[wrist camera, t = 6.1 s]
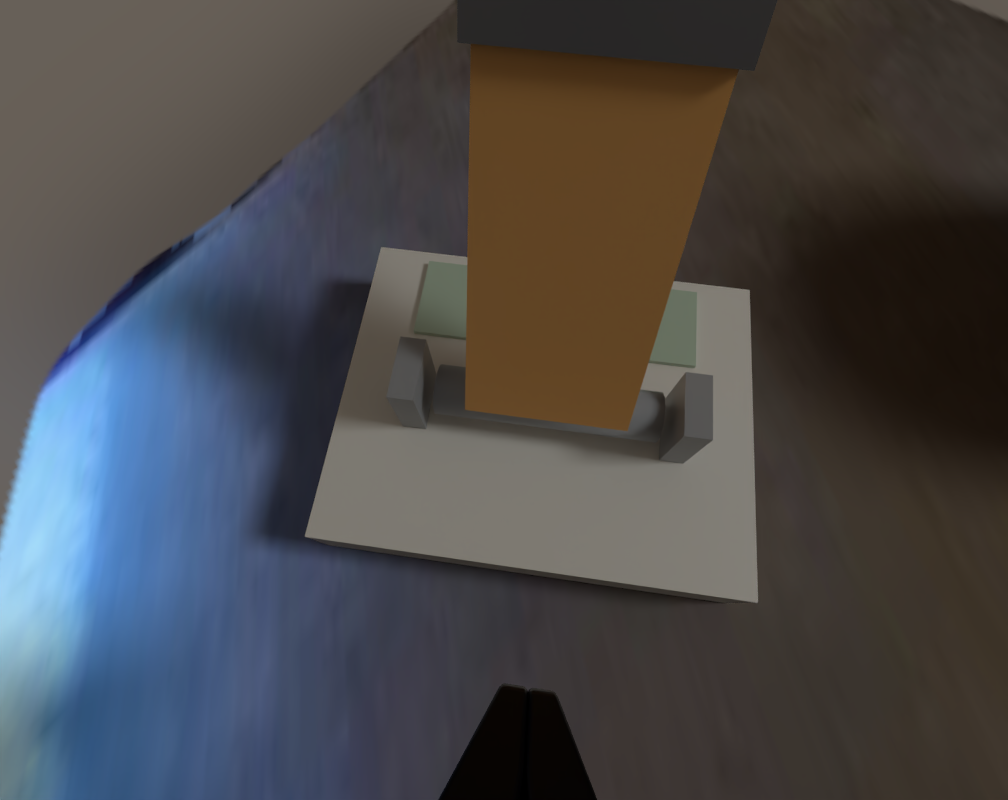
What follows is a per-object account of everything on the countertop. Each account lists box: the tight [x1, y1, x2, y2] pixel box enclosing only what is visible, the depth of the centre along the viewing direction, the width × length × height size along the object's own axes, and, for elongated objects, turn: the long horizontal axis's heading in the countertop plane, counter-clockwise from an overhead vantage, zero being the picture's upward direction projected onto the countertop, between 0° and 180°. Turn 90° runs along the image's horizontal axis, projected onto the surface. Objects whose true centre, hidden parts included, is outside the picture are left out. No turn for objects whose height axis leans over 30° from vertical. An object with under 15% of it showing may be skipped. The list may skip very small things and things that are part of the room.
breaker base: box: [305, 247, 758, 603], centre depth 18 cm, size 11×14×5 cm
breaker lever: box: [433, 0, 777, 443], centre depth 14 cm, size 2×7×12 cm, turn 81°
